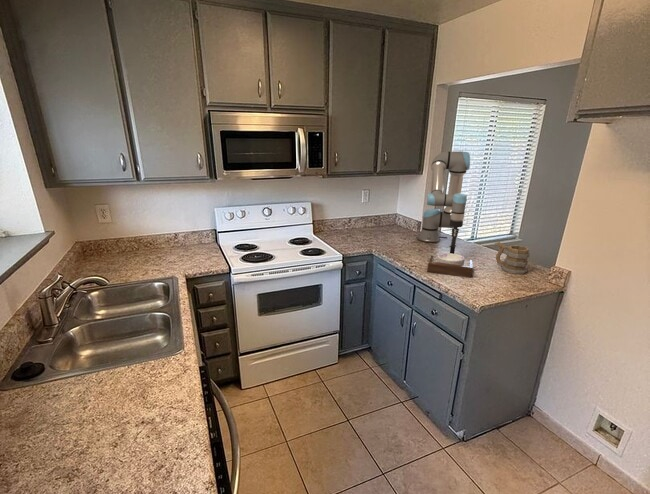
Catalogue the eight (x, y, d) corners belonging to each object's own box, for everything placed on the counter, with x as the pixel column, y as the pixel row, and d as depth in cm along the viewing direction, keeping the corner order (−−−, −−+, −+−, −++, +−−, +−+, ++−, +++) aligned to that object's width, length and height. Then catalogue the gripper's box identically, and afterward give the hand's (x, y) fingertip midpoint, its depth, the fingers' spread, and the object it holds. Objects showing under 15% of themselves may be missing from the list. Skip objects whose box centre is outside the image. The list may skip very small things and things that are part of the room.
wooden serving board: (430, 262, 223) (431, 253, 221) (471, 267, 216) (472, 258, 213) (427, 272, 209) (428, 262, 206) (471, 277, 201) (472, 267, 199)
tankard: (529, 270, 212) (535, 246, 206) (520, 275, 204) (526, 250, 199) (496, 261, 226) (500, 239, 220) (486, 266, 218) (491, 243, 212)
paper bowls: (440, 263, 223) (441, 251, 220) (465, 267, 216) (467, 255, 213) (433, 270, 211) (434, 257, 208) (459, 275, 204) (461, 262, 201)
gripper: (450, 217, 222) (445, 252, 231) (449, 221, 211) (444, 259, 220) (463, 218, 220) (458, 254, 229) (463, 222, 209) (457, 260, 218)
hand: (451, 256), depth 224 cm, fingers closed
